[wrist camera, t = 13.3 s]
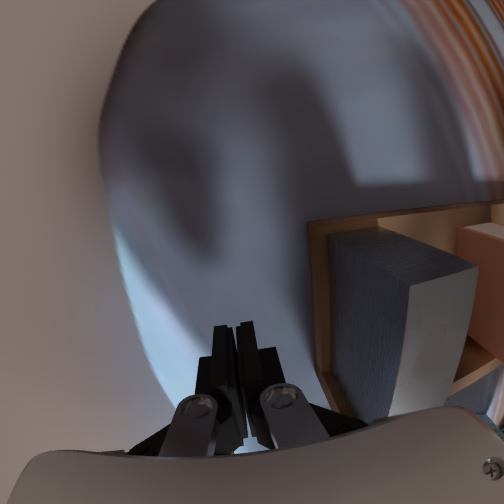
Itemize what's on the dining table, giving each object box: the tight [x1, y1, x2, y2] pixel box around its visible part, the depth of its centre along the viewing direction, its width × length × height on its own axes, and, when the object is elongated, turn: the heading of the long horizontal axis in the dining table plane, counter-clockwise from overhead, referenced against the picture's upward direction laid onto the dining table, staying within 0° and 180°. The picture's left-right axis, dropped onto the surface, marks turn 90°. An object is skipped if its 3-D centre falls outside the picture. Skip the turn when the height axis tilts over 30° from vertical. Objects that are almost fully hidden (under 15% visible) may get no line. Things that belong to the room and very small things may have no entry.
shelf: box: [307, 200, 504, 418], centre depth 13 cm, size 26×10×7 cm, turn 98°
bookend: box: [326, 226, 479, 423], centre depth 11 cm, size 3×8×7 cm, turn 7°
